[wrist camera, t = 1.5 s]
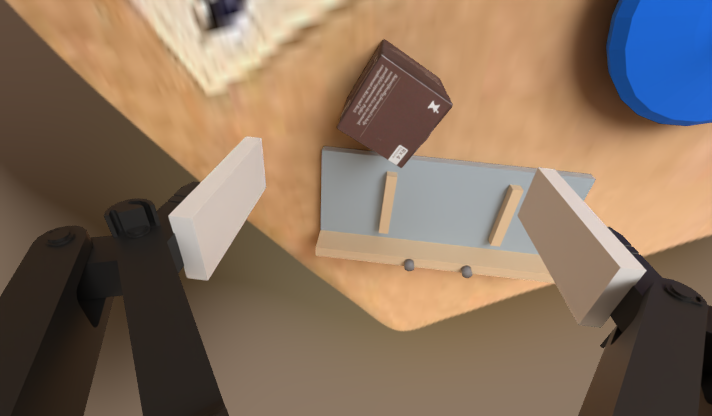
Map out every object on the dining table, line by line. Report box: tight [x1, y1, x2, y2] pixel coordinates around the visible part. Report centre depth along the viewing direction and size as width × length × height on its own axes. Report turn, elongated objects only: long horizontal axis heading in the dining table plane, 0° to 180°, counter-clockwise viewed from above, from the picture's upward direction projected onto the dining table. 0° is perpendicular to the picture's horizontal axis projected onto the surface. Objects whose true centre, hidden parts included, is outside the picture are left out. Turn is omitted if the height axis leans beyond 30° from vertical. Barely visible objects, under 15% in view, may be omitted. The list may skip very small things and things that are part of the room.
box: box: [337, 39, 453, 168], centre depth 26 cm, size 6×6×7 cm
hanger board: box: [316, 146, 596, 283], centre depth 33 cm, size 11×26×5 cm, turn 86°
